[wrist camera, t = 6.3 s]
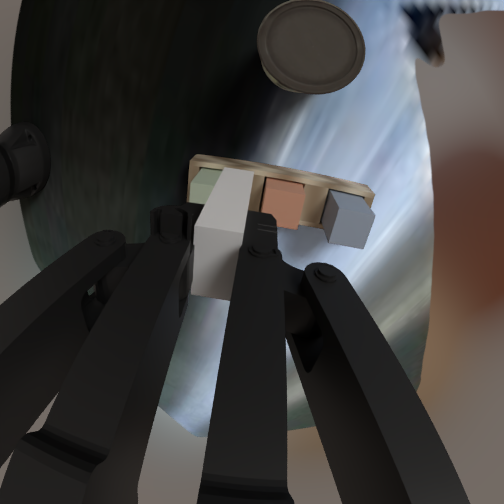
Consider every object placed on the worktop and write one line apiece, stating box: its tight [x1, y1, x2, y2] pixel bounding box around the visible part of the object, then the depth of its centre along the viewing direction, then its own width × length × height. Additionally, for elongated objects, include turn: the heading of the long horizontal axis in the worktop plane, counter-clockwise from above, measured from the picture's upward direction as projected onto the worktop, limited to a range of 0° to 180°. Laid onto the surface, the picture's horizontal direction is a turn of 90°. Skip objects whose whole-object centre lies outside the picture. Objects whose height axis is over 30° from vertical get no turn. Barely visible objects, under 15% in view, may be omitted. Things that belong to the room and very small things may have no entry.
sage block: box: [189, 167, 223, 204], centre depth 38 cm, size 5×5×7 cm
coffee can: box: [257, 0, 365, 94], centre depth 27 cm, size 10×10×14 cm
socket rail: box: [187, 154, 375, 229], centre depth 42 cm, size 26×7×4 cm, turn 81°
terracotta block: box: [261, 176, 306, 230], centre depth 40 cm, size 5×5×7 cm
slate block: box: [321, 189, 375, 249], centre depth 39 cm, size 5×5×7 cm
